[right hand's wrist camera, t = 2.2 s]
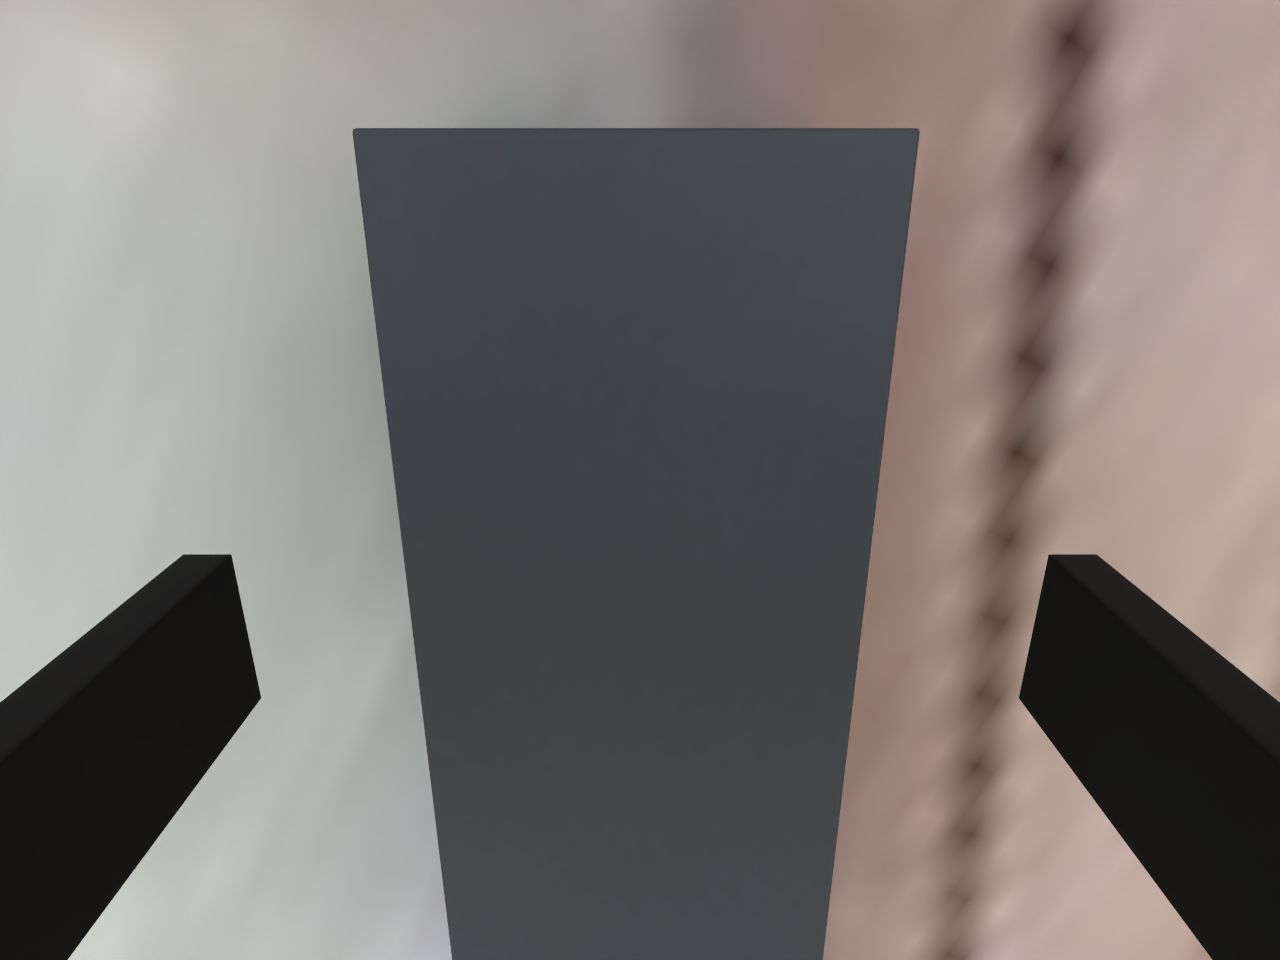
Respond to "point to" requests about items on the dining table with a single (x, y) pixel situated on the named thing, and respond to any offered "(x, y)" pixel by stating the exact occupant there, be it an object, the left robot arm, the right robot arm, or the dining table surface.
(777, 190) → the wide beam
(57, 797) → the right robot arm
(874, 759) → the dining table surface
